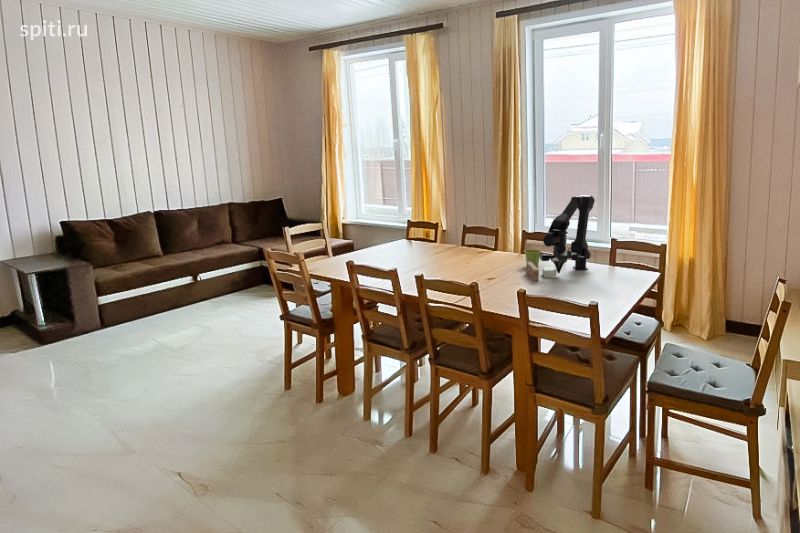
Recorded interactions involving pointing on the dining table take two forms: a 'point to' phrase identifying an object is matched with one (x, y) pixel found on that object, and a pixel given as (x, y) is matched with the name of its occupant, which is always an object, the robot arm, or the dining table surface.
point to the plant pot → (532, 256)
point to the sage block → (549, 272)
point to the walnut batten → (532, 271)
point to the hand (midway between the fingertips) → (558, 273)
